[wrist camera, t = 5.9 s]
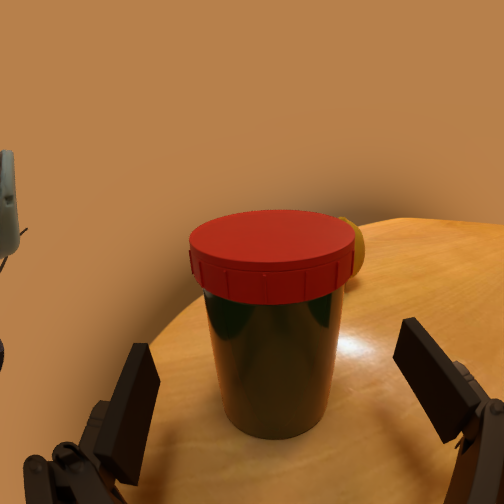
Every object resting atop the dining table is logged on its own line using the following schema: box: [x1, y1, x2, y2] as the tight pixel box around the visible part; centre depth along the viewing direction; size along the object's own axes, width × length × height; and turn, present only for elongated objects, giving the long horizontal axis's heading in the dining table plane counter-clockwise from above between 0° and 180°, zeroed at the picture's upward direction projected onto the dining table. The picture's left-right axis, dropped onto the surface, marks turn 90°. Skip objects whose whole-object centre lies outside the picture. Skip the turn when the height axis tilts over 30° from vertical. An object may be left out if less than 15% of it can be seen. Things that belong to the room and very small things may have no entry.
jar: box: [203, 284, 345, 439], centre depth 16 cm, size 7×7×12 cm
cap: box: [189, 210, 355, 305], centre depth 14 cm, size 8×8×2 cm
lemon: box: [338, 217, 365, 279], centre depth 32 cm, size 6×6×8 cm
